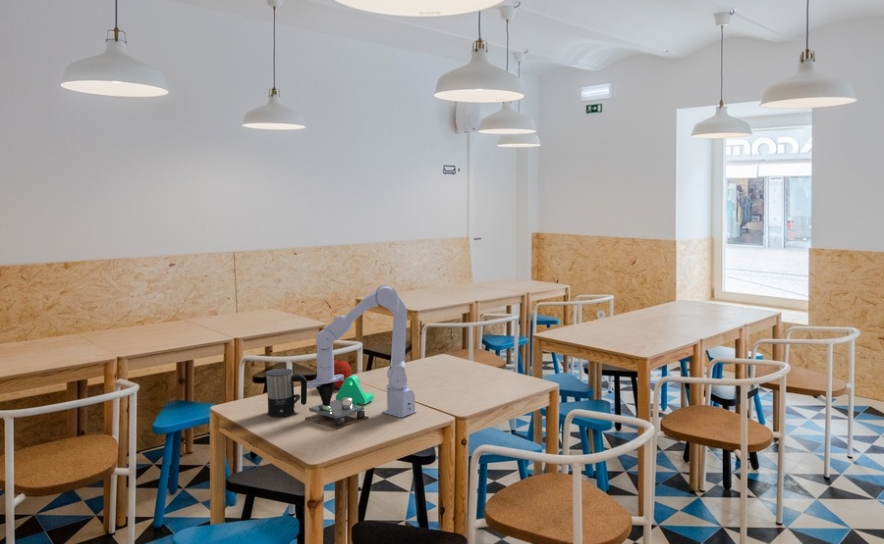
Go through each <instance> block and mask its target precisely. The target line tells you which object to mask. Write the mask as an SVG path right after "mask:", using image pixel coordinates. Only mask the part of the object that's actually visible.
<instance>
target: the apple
mask: <svg viewBox="0 0 884 544" xmlns="http://www.w3.org/2000/svg"><path fill="white" fill-rule="evenodd" d="M338 374H342V375H344V380H343V381H337V382H333V383H334V384H336V388H335V389H338V390H340V388H341V386H342V384H343V383H344V381H345V379H346V378H348V377H350V376H352V375H353V373H352V368H351V365H350V364H349V362H346V361H345V360H342V359H338V358H337V359H336V360H334V375H338Z"/></svg>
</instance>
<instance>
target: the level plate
mask: <svg viewBox="0 0 884 544" xmlns="http://www.w3.org/2000/svg"><path fill="white" fill-rule="evenodd" d="M308 411H309V412H311V413H316V414H321V415H325V416H328V417H332V418H335V419H338V418H341V417H344V416H347V415H350V414H353V413H357V412H359V411H365V407H364V406H362V405H359V404H358V405H354V404H352V398H349V397H346V398H342V399H341V401H339V400H336V399H334V400H331V401H330V405H328V406H325V405H323V403H322V404H321V403H320V404H318V405H314V406H311V407H308Z"/></svg>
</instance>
